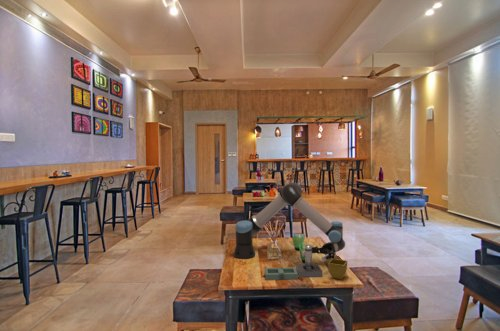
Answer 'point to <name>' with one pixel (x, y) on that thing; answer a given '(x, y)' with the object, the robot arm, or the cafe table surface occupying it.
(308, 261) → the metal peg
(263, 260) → the cafe table surface
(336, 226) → the robot arm
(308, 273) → the socket block
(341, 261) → the flower pot
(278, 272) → the frame
